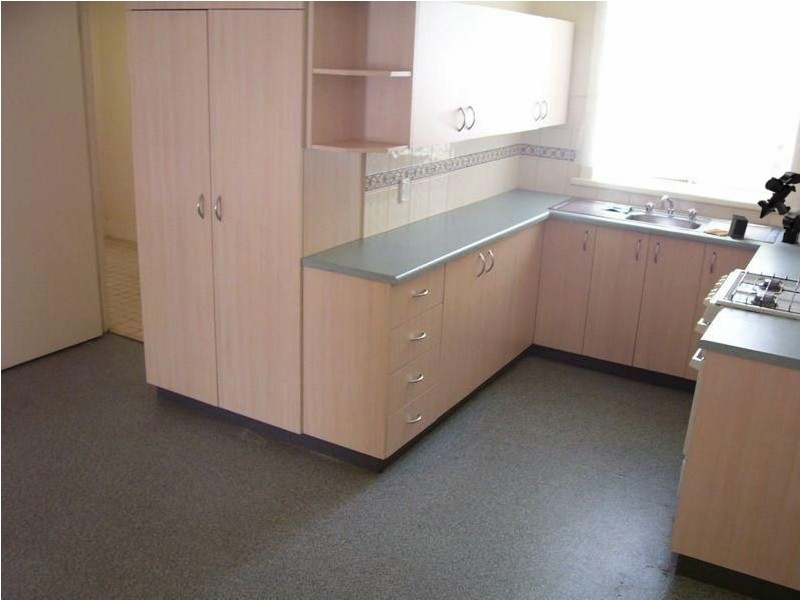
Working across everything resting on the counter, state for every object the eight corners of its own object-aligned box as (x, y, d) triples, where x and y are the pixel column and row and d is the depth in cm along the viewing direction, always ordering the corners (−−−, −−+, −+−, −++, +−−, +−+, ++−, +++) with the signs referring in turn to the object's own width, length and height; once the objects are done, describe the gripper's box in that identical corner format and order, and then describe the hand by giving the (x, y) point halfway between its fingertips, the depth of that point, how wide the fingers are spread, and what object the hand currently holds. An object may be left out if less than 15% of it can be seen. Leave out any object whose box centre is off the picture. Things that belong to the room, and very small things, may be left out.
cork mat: (734, 233, 427) (734, 232, 427) (722, 236, 419) (722, 235, 419) (715, 229, 435) (715, 228, 435) (703, 232, 427) (703, 231, 427)
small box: (744, 239, 415) (749, 220, 411) (731, 238, 416) (736, 218, 412) (740, 234, 424) (745, 215, 421) (727, 232, 425) (732, 214, 422)
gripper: (783, 204, 395) (762, 228, 404) (801, 205, 406) (780, 228, 415) (767, 190, 401) (747, 214, 410) (785, 191, 412) (765, 214, 421)
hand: (760, 218), depth 414 cm, fingers closed
